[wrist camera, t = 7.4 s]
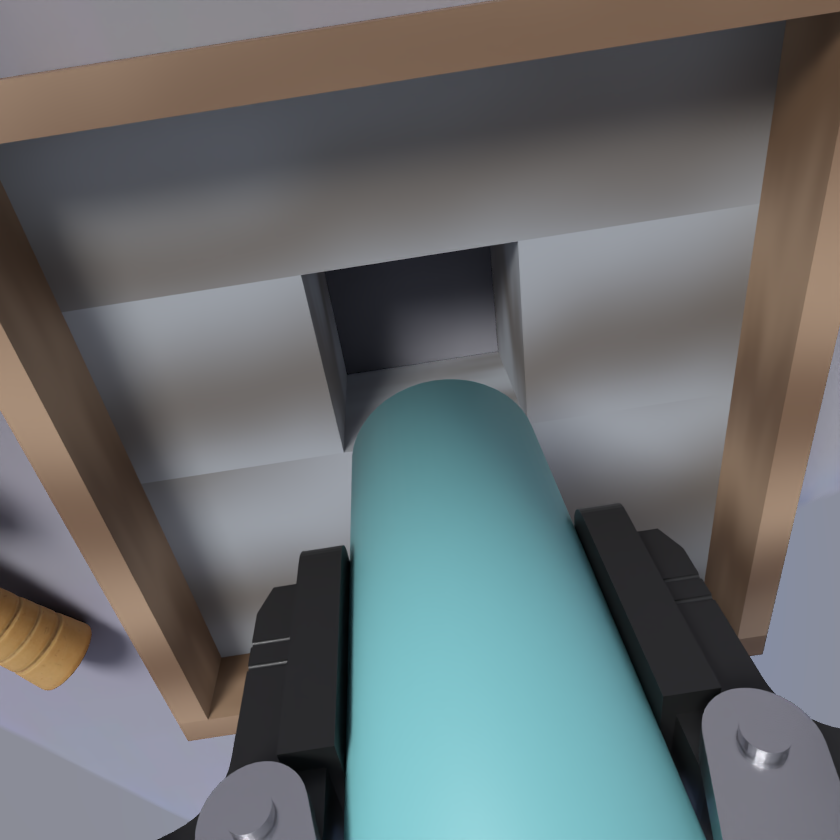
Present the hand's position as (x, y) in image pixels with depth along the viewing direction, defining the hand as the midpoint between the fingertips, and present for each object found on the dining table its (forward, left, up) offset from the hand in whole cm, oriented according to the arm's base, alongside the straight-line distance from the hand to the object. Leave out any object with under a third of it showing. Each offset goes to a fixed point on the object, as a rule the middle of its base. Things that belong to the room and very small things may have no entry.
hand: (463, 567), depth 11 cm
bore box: (+2, 0, -13) cm, 13 cm away
